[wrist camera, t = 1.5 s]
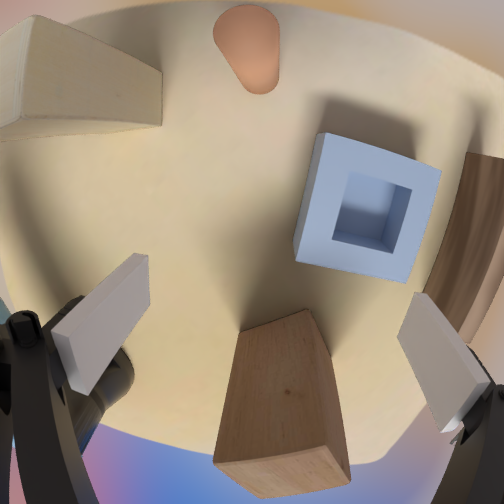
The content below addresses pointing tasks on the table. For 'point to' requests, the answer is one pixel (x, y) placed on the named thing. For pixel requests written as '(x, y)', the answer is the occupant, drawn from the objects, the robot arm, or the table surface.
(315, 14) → the table surface
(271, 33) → the dowel
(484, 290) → the wall
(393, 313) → the table surface
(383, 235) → the socket block
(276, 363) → the wooden block
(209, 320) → the table surface
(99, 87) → the toy refrigerator
